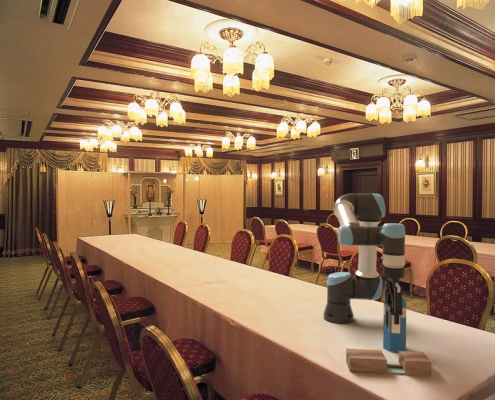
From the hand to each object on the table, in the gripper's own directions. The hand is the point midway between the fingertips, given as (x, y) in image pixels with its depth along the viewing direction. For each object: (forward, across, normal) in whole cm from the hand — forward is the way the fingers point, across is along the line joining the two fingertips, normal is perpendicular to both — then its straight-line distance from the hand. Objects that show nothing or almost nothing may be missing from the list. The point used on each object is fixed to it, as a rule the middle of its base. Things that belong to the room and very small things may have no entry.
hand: (392, 329), depth 132 cm
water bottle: (+15, -19, +6) cm, 25 cm away
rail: (+15, 0, -2) cm, 15 cm away
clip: (0, 0, 0) cm, 0 cm away
